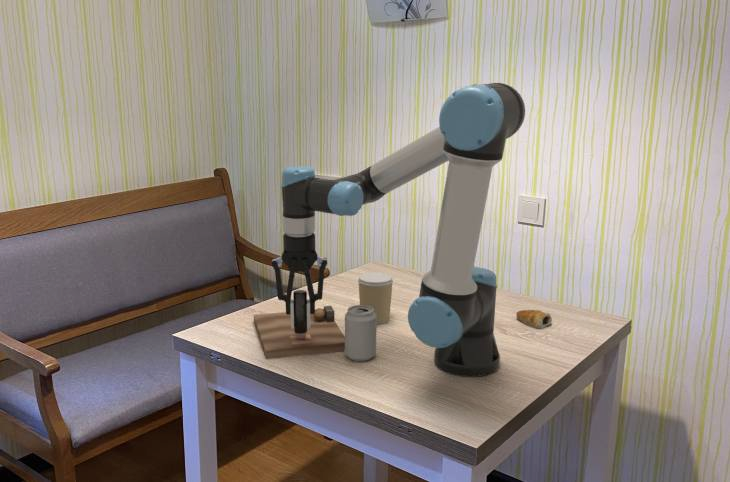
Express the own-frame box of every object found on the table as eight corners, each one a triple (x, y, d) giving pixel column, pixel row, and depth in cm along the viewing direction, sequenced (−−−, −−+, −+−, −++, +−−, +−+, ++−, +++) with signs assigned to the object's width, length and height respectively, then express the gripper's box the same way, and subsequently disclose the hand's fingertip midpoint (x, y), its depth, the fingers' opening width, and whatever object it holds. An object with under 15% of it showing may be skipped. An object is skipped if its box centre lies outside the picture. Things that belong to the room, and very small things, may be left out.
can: (381, 353, 171) (382, 306, 168) (366, 365, 164) (366, 316, 161) (355, 347, 174) (355, 301, 171) (338, 358, 168) (338, 310, 165)
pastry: (510, 320, 193) (511, 307, 192) (525, 315, 197) (526, 302, 196) (539, 330, 186) (540, 317, 185) (554, 324, 190) (555, 311, 189)
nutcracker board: (348, 350, 173) (348, 330, 171) (265, 358, 168) (265, 338, 166) (327, 315, 195) (326, 297, 194) (253, 322, 190) (253, 303, 188)
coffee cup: (393, 313, 197) (394, 272, 193) (391, 326, 188) (391, 283, 184) (359, 312, 197) (360, 271, 194) (356, 324, 188) (356, 281, 185)
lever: (295, 309, 193) (295, 267, 189) (310, 309, 193) (310, 267, 190) (292, 341, 172) (291, 294, 169) (308, 341, 172) (308, 294, 169)
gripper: (333, 228, 170) (334, 320, 177) (265, 229, 170) (268, 321, 176) (334, 236, 163) (334, 331, 169) (262, 237, 162) (265, 332, 168)
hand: (300, 326), depth 173 cm, fingers closed on lever, 3 cm apart
